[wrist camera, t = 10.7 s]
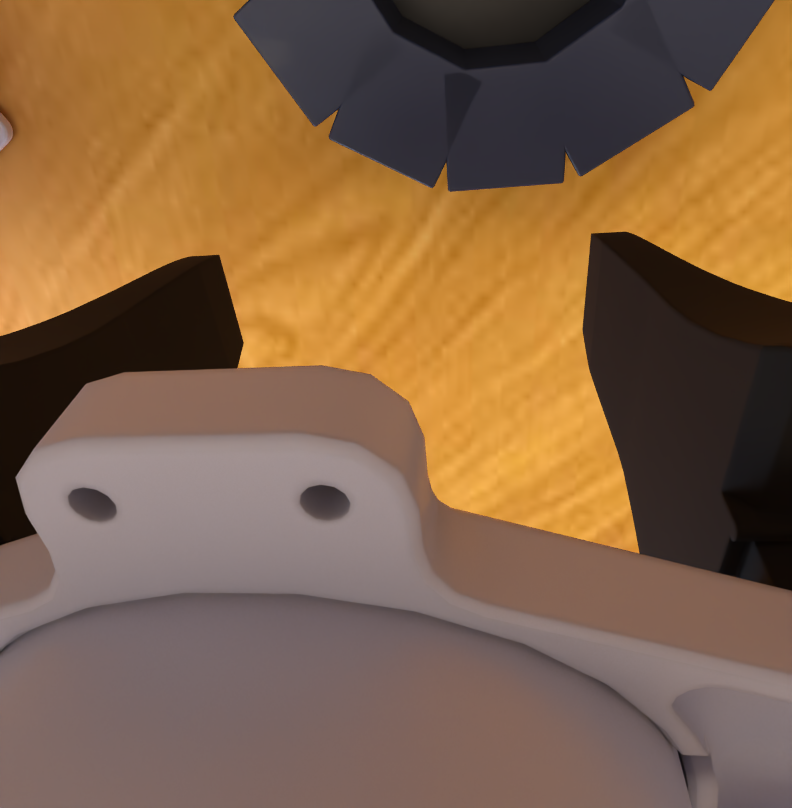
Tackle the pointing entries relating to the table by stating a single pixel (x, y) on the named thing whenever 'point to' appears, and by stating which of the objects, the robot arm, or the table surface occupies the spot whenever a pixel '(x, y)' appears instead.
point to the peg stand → (488, 19)
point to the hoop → (496, 82)
